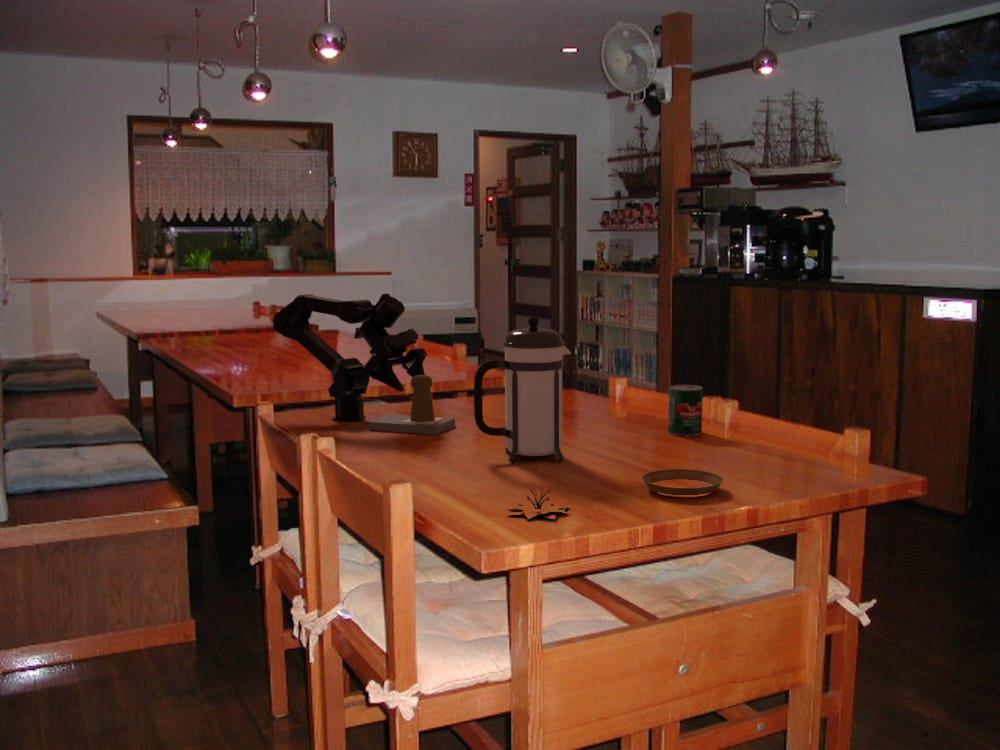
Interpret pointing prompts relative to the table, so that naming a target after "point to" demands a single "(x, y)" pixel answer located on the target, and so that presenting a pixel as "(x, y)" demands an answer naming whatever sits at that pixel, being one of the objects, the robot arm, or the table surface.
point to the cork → (422, 399)
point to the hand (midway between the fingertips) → (414, 388)
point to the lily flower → (539, 500)
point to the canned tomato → (685, 410)
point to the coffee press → (528, 392)
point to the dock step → (411, 424)
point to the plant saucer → (683, 474)
